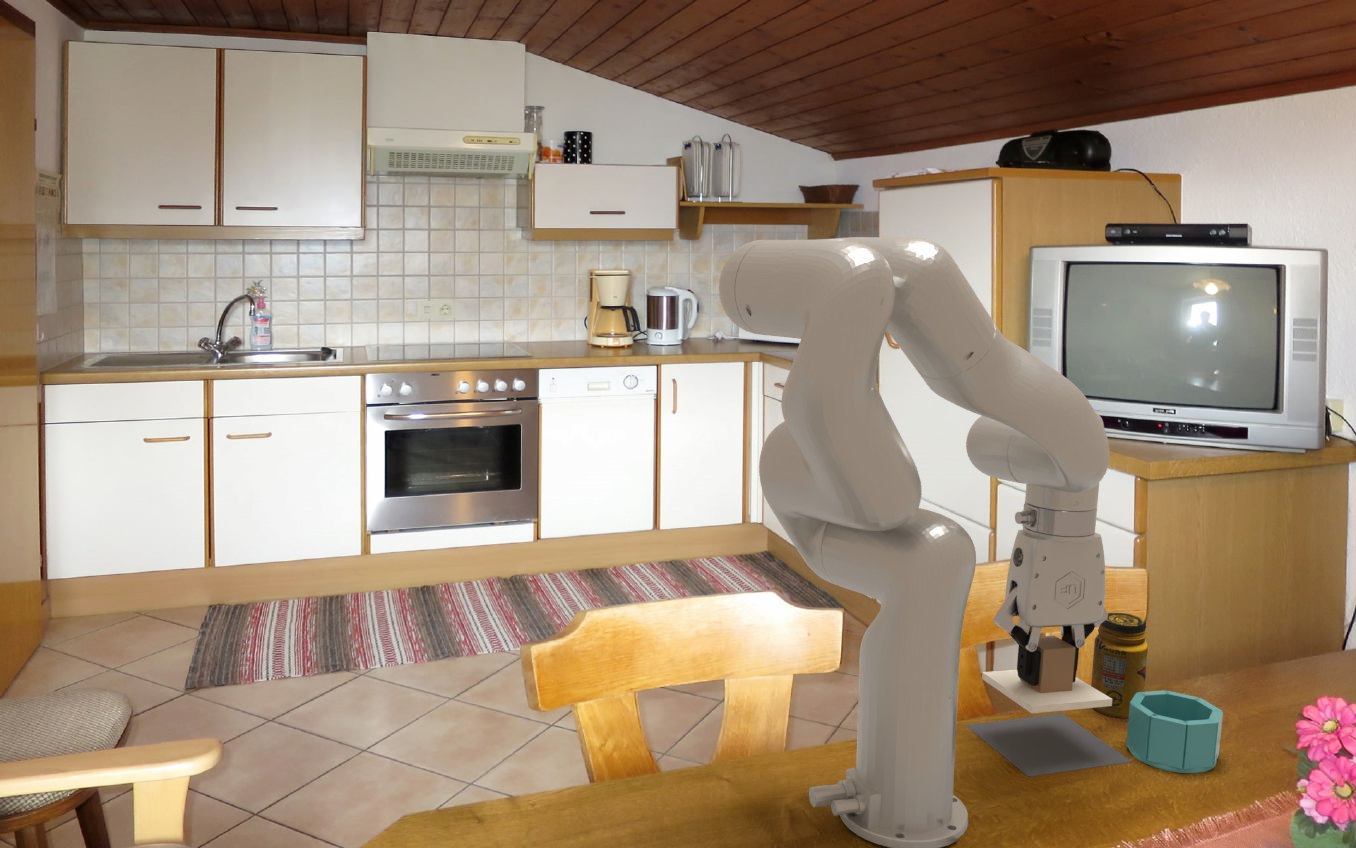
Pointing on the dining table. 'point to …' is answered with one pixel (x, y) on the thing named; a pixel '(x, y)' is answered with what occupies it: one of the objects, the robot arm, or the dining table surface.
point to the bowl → (1174, 731)
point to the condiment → (1120, 661)
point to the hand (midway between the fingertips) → (1046, 678)
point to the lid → (1049, 682)
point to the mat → (1047, 744)
